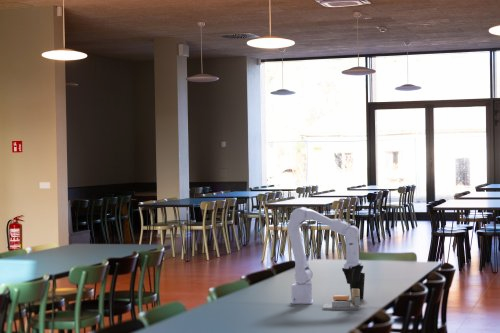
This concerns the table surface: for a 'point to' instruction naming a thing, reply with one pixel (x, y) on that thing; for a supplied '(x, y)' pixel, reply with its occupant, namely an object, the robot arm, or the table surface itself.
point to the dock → (343, 305)
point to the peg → (355, 294)
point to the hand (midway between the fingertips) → (353, 282)
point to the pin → (340, 297)
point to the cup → (358, 285)
